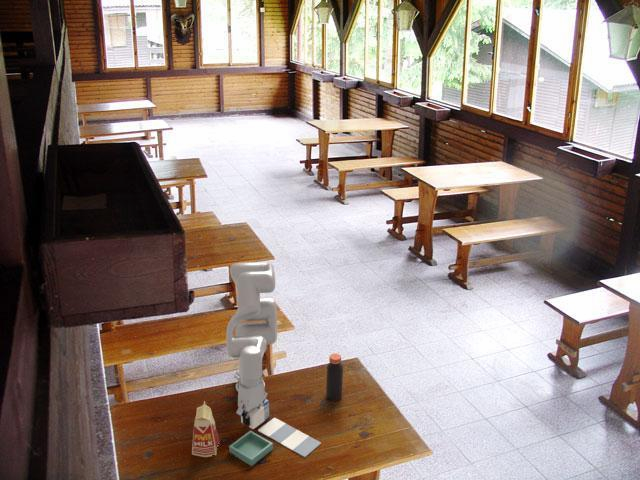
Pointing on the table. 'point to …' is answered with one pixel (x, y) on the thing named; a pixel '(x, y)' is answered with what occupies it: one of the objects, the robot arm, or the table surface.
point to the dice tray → (251, 448)
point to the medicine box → (266, 410)
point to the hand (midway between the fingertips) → (252, 419)
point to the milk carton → (204, 433)
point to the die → (255, 416)
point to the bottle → (334, 378)
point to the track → (289, 437)
